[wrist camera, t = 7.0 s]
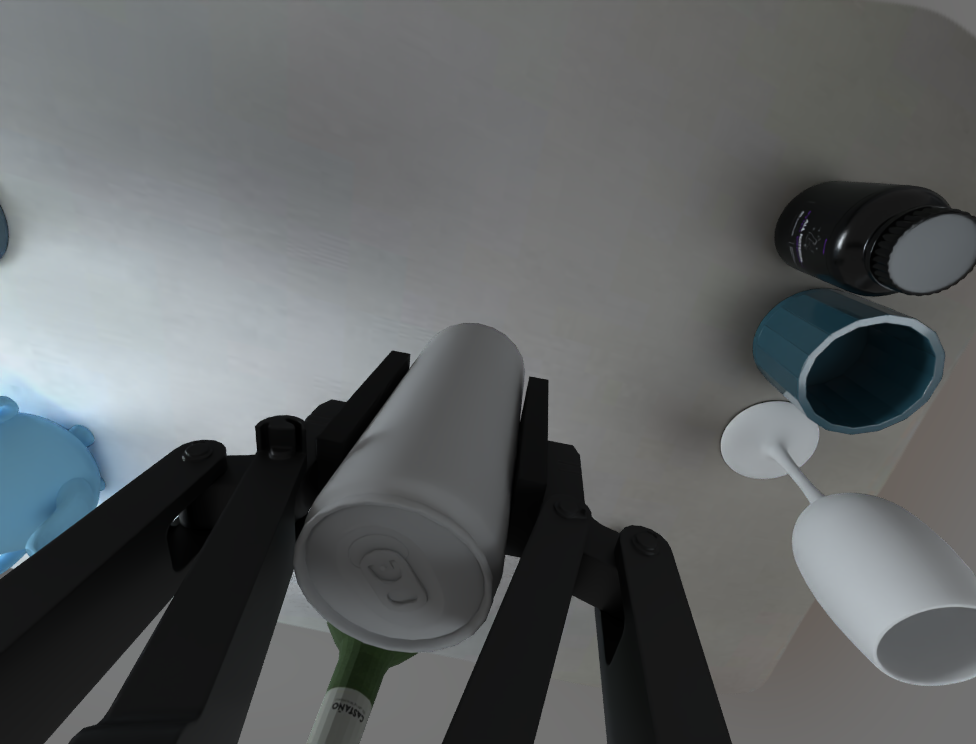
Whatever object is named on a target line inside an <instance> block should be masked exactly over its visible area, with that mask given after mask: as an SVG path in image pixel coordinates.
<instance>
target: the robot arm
mask: <svg viewBox="0 0 976 744" xmlns="http://www.w3.org/2000/svg"><path fill="white" fill-rule="evenodd" d="M409 365H410V354H408V353H402V352H397V351H391V352H390V353H389V355H388V356H387V357H386V358H385V359H384V360H383V361H382V363H381V364H380V365H379V366H378V367H377V368H376V369H375V370H374V372H373V373H372V374H371V375H370V376H369V377H368V378H367V380H366V381H365V382H364V383H363V384H362V385H361V386H360V387H359V389H358V390H357V391H356V392H355V393H354V394H353V395H352V397H351V398H350V399H349V400H348V401H347V402H342V401H337V400H329V401H327V402H325V403H323V404H321V405H319V406H318V407H317V408H316V409H315V410H314V411H313V412H312V413H311V415H309V416H308V417H307V418H306V419H305V421H303V420H302V419H300V418H298V417H295V416H289V415H279V416H273V417H269V418H266V419H264V420H262V421H260V422H259V423H258V424H257V425H256V426H255V431H256V444H257V452H256V454H255V455H229V456H227V454H226V447H225V446H224V445H223V444H222V443H220V442H217V441H214V440H198V441H193V442H189V443H186V444H183V445H181V446H180V447H178V448H176V449H174V450H173V451H172V452H170V453H169V454H168V455H166V456H165V457H164V458H162V459H161V460H160V461H158V462H157V463H156V464H154V465H153V466H152V467H150V468H149V469H148V470H146V471H145V472H143V473H142V474H141V475H139V476H138V477H137V478H135V479H134V480H133V481H131V482H130V483H129V484H127V485H126V486H125V487H123V488H122V489H121V490H119V491H118V492H117V493H115V494H114V495H113V496H111V497H110V498H109V499H107V500H106V501H105V502H103V503H102V504H101V505H99V506H98V507H97V508H95V509H94V510H93V511H91V512H90V513H88V514H87V515H86V516H84V517H83V518H82V519H80V520H79V521H78V522H76V523H75V524H74V525H72V526H71V527H70V528H68V529H67V530H66V531H64V532H63V533H62V534H60V535H59V536H58V537H56V538H55V539H54V540H52V541H51V542H50V543H48V544H47V545H46V546H44V547H43V548H42V549H40V550H39V551H38V552H36V553H35V554H33V555H32V556H31V557H29V558H28V559H27V560H25V561H24V562H23V563H21V564H20V565H19V566H17V567H16V568H15V569H13V570H12V571H11V572H9V573H8V574H7V575H5V576H4V577H3V578H1V579H0V744H44V743H45V742H46V741H47V740H48V738H49V737H50V736H51V735H52V734H53V733H54V731H55V730H56V729H57V728H58V727H59V726H60V725H61V724H62V722H63V721H64V720H65V719H66V718H67V717H68V716H69V714H70V713H71V712H72V711H73V710H74V709H75V708H76V706H77V705H78V704H79V703H80V702H81V701H82V700H83V699H84V697H85V696H86V695H87V694H88V693H89V692H90V691H91V690H92V688H93V687H94V686H95V685H96V684H97V683H98V682H99V680H100V679H101V678H102V677H103V676H104V675H105V673H106V672H107V671H108V670H109V669H110V668H111V667H112V666H113V665H114V663H115V662H116V661H117V660H118V659H119V658H120V657H121V655H122V654H123V653H124V652H125V651H126V650H127V649H128V647H129V646H130V645H131V644H132V643H133V642H134V641H135V639H136V638H137V637H138V636H139V635H140V634H141V633H142V632H143V630H144V629H145V628H146V627H147V626H148V625H149V624H150V622H151V621H152V620H153V619H154V618H155V617H156V616H157V615H158V613H159V612H160V611H161V610H162V609H163V608H164V607H165V605H166V604H167V603H168V602H169V601H170V600H171V599H172V598H173V599H172V601H171V603H170V604H169V606H168V608H167V610H166V611H165V613H164V615H163V616H162V618H161V620H160V622H159V624H158V625H157V627H156V629H155V630H154V632H153V634H152V636H151V637H150V639H149V641H148V643H147V644H146V646H145V648H144V650H143V651H142V653H141V655H140V657H139V658H138V660H137V662H136V664H135V665H134V667H133V669H132V671H131V672H130V674H129V676H128V678H127V679H126V681H125V683H124V685H123V686H122V688H121V690H120V692H119V693H118V695H117V697H116V699H115V700H114V702H113V704H112V706H111V707H110V709H109V711H108V712H107V714H106V715H105V716H104V718H103V719H102V720H101V721H100V722H99V723H98V724H97V725H93V726H89V727H86V728H83V729H82V730H81V731H80V732H79V733H78V734H76V736H74V737H73V738H72V739H71V741H70V742H69V744H237V743H238V740H239V737H240V734H241V731H242V728H243V725H244V722H245V719H246V715H247V712H248V709H249V706H250V703H251V700H252V697H253V694H254V691H255V688H256V685H257V681H258V678H259V675H260V672H261V669H262V666H263V663H264V660H265V657H266V653H267V651H268V647H269V644H270V641H271V638H272V635H273V632H274V629H275V626H276V623H277V620H278V616H279V613H280V610H281V607H282V604H283V601H284V598H285V595H286V592H287V589H288V586H289V582H290V579H291V576H292V573H293V570H294V567H293V557H294V547H295V543H296V541H297V539H298V537H299V535H300V533H301V531H302V529H303V527H304V524H305V519H306V517H307V515H308V511H309V510H310V508H311V507H312V505H313V503H314V501H315V499H316V498H317V496H318V495H319V494H320V492H321V491H322V489H323V488H324V487H325V485H326V484H327V482H328V481H329V480H330V478H331V477H332V476H333V474H334V473H335V471H336V470H337V469H338V467H339V466H340V464H341V463H342V462H343V460H344V459H345V458H346V456H347V455H348V453H349V452H350V451H351V449H352V448H353V446H354V445H355V444H356V442H357V441H358V440H359V438H360V437H361V435H362V434H363V433H364V431H365V430H366V428H367V427H368V426H369V424H370V423H371V422H372V420H373V419H374V417H375V416H376V415H377V413H378V412H379V410H380V409H381V408H382V406H383V405H384V404H385V402H386V401H387V399H388V398H389V397H390V395H391V394H392V392H393V391H394V390H395V388H396V387H397V386H398V384H399V383H400V381H401V380H402V379H403V377H404V376H405V375H406V373H407V372H408V370H409ZM581 474H582V471H581V461H580V455H579V453H578V452H577V451H576V449H575V448H574V446H573V445H568V444H563V443H558V442H553V441H548V380H546V379H541V378H535V377H530V376H529V381H528V386H527V391H526V396H525V401H524V406H523V410H522V415H521V420H520V426H519V438H518V450H517V459H516V468H515V477H514V485H513V493H512V501H511V510H510V518H509V526H508V534H507V542H506V551H505V555H510V556H515V557H520V561H519V563H518V566H517V568H516V570H515V573H514V575H513V577H512V580H511V582H510V584H509V587H508V589H507V591H506V594H505V596H504V599H503V601H502V603H501V606H500V608H499V610H498V613H497V615H496V617H495V620H494V622H493V624H492V627H491V629H490V631H489V634H488V636H487V639H486V641H485V643H484V646H483V648H482V650H481V653H480V655H479V657H478V660H477V662H476V664H475V667H474V669H473V671H472V674H471V676H470V679H469V681H468V683H467V686H466V688H465V690H464V693H463V695H462V698H461V700H460V702H459V705H458V707H457V709H456V712H455V714H454V716H453V719H452V721H451V723H450V726H449V728H448V730H447V733H446V735H445V738H444V740H443V742H442V744H534V740H535V736H536V732H537V729H538V725H539V720H540V717H541V713H542V709H543V705H544V701H545V697H546V694H547V690H548V686H549V682H550V678H551V674H552V671H553V667H554V663H555V659H556V655H557V651H558V647H559V643H560V640H561V636H562V632H563V628H564V624H565V620H566V616H567V613H568V609H569V605H570V601H571V597H572V595H573V596H575V597H577V598H579V599H581V600H583V601H584V602H586V603H588V604H590V605H592V606H594V607H595V618H596V629H597V640H598V650H599V661H600V671H601V682H602V692H603V703H604V713H605V724H606V734H607V744H732V742H731V739H730V736H729V733H728V729H727V726H726V723H725V720H724V717H723V713H722V710H721V707H720V704H719V701H718V697H717V694H716V691H715V688H714V684H713V681H712V678H711V675H710V672H709V668H708V665H707V662H706V659H705V656H704V652H703V649H702V646H701V643H700V640H699V636H698V633H697V630H696V627H695V623H694V620H693V617H692V614H691V611H690V607H689V604H688V601H687V598H686V595H685V591H684V588H683V585H682V582H681V579H680V575H679V572H678V569H677V566H676V563H675V559H674V556H673V553H672V550H671V548H670V546H669V544H668V542H667V541H666V540H665V539H664V538H663V537H662V536H661V535H659V534H658V533H656V532H654V531H653V530H651V529H649V528H646V527H643V526H634V525H631V526H628V527H625V528H624V529H623V530H622V531H621V532H620V533H618V532H616V531H614V530H611V529H609V528H607V527H605V526H603V525H601V524H600V523H598V522H597V521H596V520H594V519H593V518H592V515H591V511H590V509H589V508H588V506H587V505H586V504H585V501H584V491H583V481H582V475H581ZM178 515H179V516H178ZM177 516H178V517H177ZM176 517H177V518H176ZM175 518H176V519H175ZM174 519H175V520H174ZM173 520H174V521H173ZM173 596H174V597H173Z"/></svg>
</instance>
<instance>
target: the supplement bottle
mask: <svg viewBox="0 0 976 744" xmlns="http://www.w3.org/2000/svg"><path fill="white" fill-rule="evenodd" d="M774 238H775V246H776V249H777V252H778V254H779V256H780V257H781V258H782V260H783V261H784V262H785V263H787V264H788V265H789V266H791V267H793V268H795V269H797V270H799V271H801V272H804V273H806V274H808V275H811V276H813V277H815V278H818V279H820V280H822V281H825V282H827V283H830V284H832V285H834V286H837V287H839V288H841V289H844V290H846V291H849V292H851V293H855V294H858V295H862V296H873V297H875V296H885V295H891V294H895V293H898V292H900V293H904V294H907V295H916V296H922V295H931V294H933V293H939V292H941V291H942V290H946V289H948V288H950V287H951V286H953V285H955V284H957V283H958V282H959V281H960V280H962V279H964V278H965V277H966V275H967V274H968V273H969V272H971V271H972V270H973V267H974V266H975V265H976V217H975V216H971V215H970V213H968V212H964V211H961V210H959V209H951V207H950V205H949V204H948V203H947V201H946V200H945V199H944V198H943V197H942V196H940V195H939V194H938V193H936V192H934V191H932V190H930V189H927V188H923V187H919V186H911V185H897V184H881V183H865V182H849V181H831V182H824V183H820V184H817V185H815V186H812V187H810V188H808V189H806V190H804V191H803V192H801V193H800V194H799V195H797V196H796V197H795V198H794V199H793V200H792V201H791V202H790V203H789V204H788V205H787V206H786V207H785V209H784V210H783V212H782V214H781V215H780V217H779V219H778V222H777V225H776V228H775V236H774Z"/></svg>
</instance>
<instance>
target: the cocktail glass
mask: <svg viewBox="0 0 976 744" xmlns="http://www.w3.org/2000/svg"><path fill="white" fill-rule="evenodd" d="M7 244H8V227H7V222H6V218H5V216H4V213H3V210H2V208H1V206H0V258H1V257H2V256H3V254H4V253H5V251H6V247H7Z"/></svg>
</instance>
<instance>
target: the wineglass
mask: <svg viewBox="0 0 976 744" xmlns="http://www.w3.org/2000/svg"><path fill="white" fill-rule="evenodd" d="M818 441H819V427H818V424H816V423H814V422H813V421H811V420H810V419H808V418H807V417H806V416H805V415H804V414H803V413H802V412H801V411H800V410H799V409H798V408H796V407H795V406H794V405H793V404H792V403H790V402H784V401H771V402H765V403H761V404H757V405H754V406H752V407H750V408H748V409H746V410H744V411H743V412H741V413H740V414H738V415H737V416H736V417H735V418H734V419H733V420H732V421H731V422H730V423H729V424H728V426H727V427H726V429H725V431H724V433H723V436H722V439H721V453H722V456H723V458H724V460H725V462H726V463H727V465H728V466H729V467H730V468H731V469H732V470H734V471H735V472H737V473H739V474H741V475H743V476H746V477H750V478H755V479H770V478H776V477H780V476H783V475H786V474H789V475H790V477H791V478H792V479H793V480H794V481H795V482H796V484H797V485H798V486H799V487H800V489H801V490H802V491H803V493H804V494H805V496H806V497H807V499H808V500H809V502H810V505H809V506H808V507H807V508H806V509H805V510H804V511H803V512H802V513H801V514H800V516H799V518H798V519H797V521H796V524H795V527H794V530H793V535H792V548H793V554H794V558H795V561H796V563H797V566H798V568H799V570H800V572H801V574H802V576H803V578H804V580H805V582H806V583H807V585H808V587H809V588H810V590H811V592H812V593H813V595H814V596H815V598H816V599H817V601H818V602H819V603H820V605H821V606H822V608H823V609H824V610H825V611H826V613H827V614H828V615H829V617H830V618H831V619H832V620H833V621H834V623H835V624H836V625H837V626H838V627H839V628H840V629H841V631H842V632H843V633H844V634H845V635H846V636H847V637H848V638H849V639H850V640H851V641H852V643H853V644H854V645H855V646H856V647H857V648H858V649H859V650H860V651H861V652H862V653H863V654H864V655H865V656H866V657H867V658H868V659H869V660H870V661H871V662H872V663H873V664H874V665H875V666H876V667H877V668H879V669H880V670H881V671H882V672H883V673H885V674H886V675H888V676H890V677H892V678H894V679H896V680H898V681H901V682H905V683H909V684H915V685H923V686H938V685H947V684H953V683H958V682H962V681H965V680H969V679H971V678H974V677H976V576H975V574H974V573H973V572H972V570H971V569H970V568H969V567H968V566H967V565H966V563H965V562H964V561H963V560H962V559H961V558H960V556H959V555H958V554H957V553H956V552H955V551H954V550H953V549H952V548H951V547H950V546H949V545H948V544H947V543H946V542H945V541H944V540H943V539H942V538H941V537H940V536H939V535H938V534H937V533H935V532H934V531H933V530H932V529H931V528H930V527H929V526H927V525H926V524H925V523H924V522H922V521H921V520H920V519H918V518H917V517H916V516H915V515H913V514H912V513H910V512H909V511H907V510H906V509H904V508H903V507H901V506H899V505H897V504H895V503H893V502H890V501H888V500H886V499H883V498H880V497H876V496H872V495H868V494H860V493H838V494H833V495H828V496H825V495H823V494H822V493H821V492H820V491H819V490H818V489H817V488H816V487H815V486H814V485H813V484H812V483H811V482H810V481H809V479H808V478H807V477H806V476H805V475H804V474H803V472H802V471H801V470H800V469H799V467H801V466H802V465H803V464H804V463H805V462H806V461H807V460H808V459H809V458H810V457H811V456H812V454H813V453H814V451H815V449H816V447H817V444H818Z"/></svg>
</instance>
